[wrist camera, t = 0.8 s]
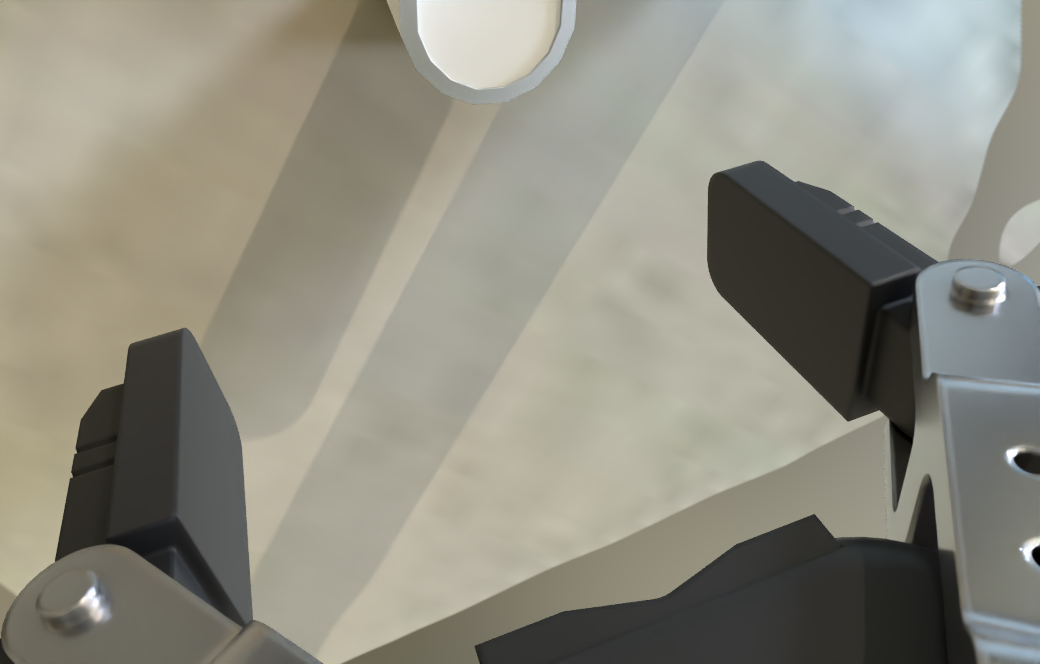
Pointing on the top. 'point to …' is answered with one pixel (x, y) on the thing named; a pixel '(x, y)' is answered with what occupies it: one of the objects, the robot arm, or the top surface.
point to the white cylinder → (484, 44)
